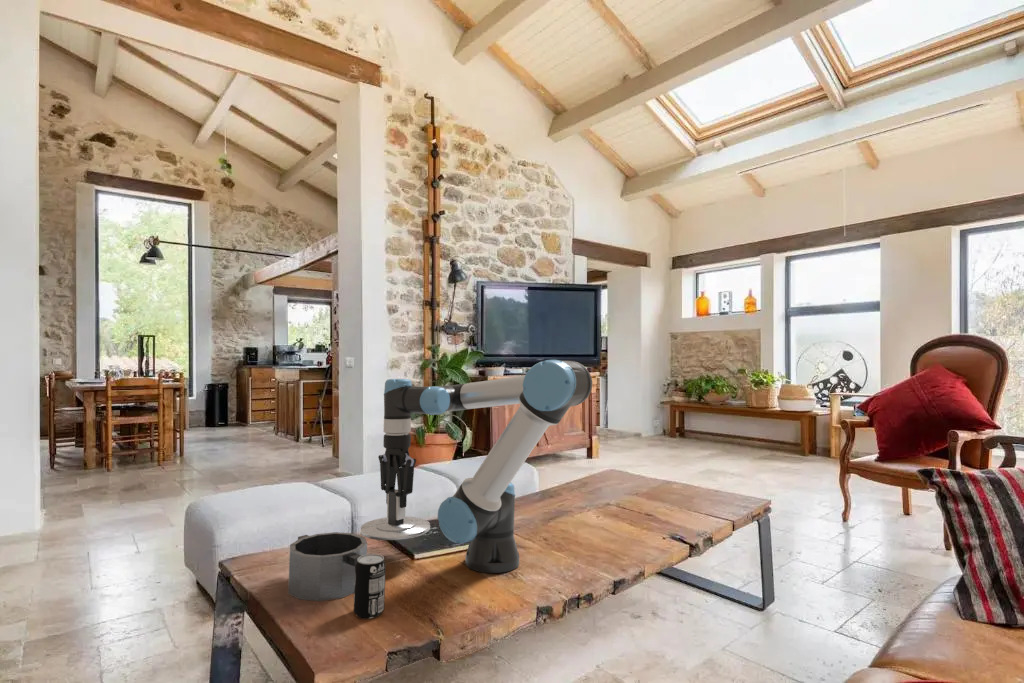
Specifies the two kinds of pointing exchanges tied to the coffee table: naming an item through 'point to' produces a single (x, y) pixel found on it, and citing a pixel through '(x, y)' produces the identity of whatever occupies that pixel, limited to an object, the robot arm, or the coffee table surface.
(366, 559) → the beverage can
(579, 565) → the coffee table surface
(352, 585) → the pot
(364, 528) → the lid
